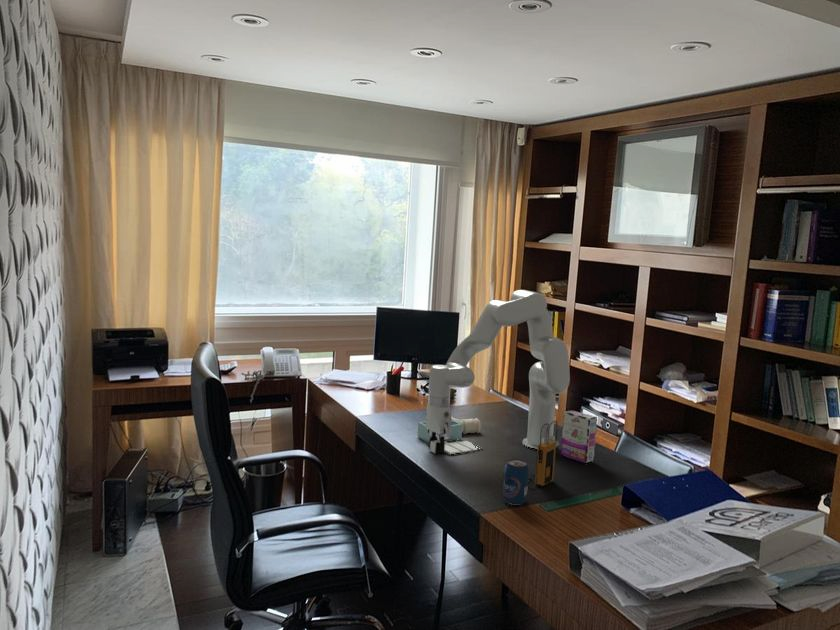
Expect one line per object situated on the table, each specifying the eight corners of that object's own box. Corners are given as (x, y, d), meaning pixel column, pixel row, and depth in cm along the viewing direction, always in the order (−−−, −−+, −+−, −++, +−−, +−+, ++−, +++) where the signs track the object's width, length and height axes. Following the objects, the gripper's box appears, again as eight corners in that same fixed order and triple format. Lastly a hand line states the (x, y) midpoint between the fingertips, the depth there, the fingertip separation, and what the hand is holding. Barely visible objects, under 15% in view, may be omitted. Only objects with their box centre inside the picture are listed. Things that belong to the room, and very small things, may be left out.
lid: (482, 450, 228) (483, 441, 228) (440, 456, 218) (441, 446, 217) (466, 442, 236) (467, 433, 236) (424, 447, 226) (425, 438, 225)
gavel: (427, 419, 272) (458, 436, 242) (428, 405, 272) (459, 421, 242) (449, 418, 276) (482, 434, 246) (449, 404, 276) (483, 419, 246)
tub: (461, 439, 239) (462, 424, 238) (430, 444, 231) (431, 428, 230) (447, 432, 246) (448, 417, 245) (417, 437, 238) (418, 422, 238)
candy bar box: (594, 462, 220) (598, 416, 218) (586, 465, 217) (589, 419, 215) (568, 453, 229) (571, 409, 227) (559, 455, 226) (563, 411, 224)
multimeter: (531, 470, 210) (535, 412, 208) (558, 478, 204) (563, 418, 201) (508, 482, 199) (512, 420, 196) (536, 491, 192) (541, 427, 190)
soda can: (498, 502, 183) (500, 462, 181) (508, 495, 188) (511, 456, 187) (520, 509, 179) (523, 468, 177) (530, 501, 185) (533, 461, 183)
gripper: (461, 405, 216) (458, 456, 218) (434, 393, 229) (432, 442, 232) (443, 407, 211) (441, 460, 214) (417, 395, 225) (415, 445, 227)
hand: (436, 450), depth 223 cm, fingers open, 3 cm apart
